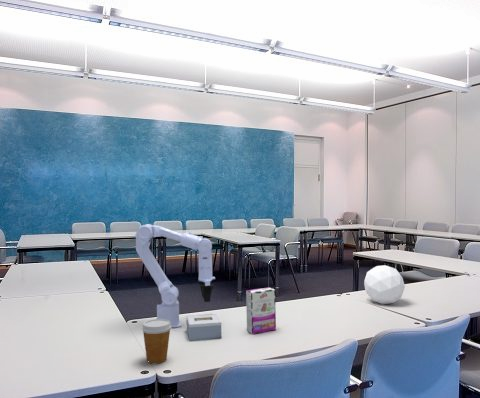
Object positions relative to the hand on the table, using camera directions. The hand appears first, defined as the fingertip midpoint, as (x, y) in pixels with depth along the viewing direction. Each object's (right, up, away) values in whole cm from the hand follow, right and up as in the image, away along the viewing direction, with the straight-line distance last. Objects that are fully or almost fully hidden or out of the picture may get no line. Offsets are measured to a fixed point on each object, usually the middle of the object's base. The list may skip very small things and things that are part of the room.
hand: (206, 299), depth 162 cm
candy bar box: (+23, -10, -9) cm, 27 cm away
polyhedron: (+88, -11, +34) cm, 95 cm away
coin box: (0, -10, -13) cm, 17 cm away
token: (0, -9, -13) cm, 16 cm away
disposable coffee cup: (-13, -10, -38) cm, 41 cm away
